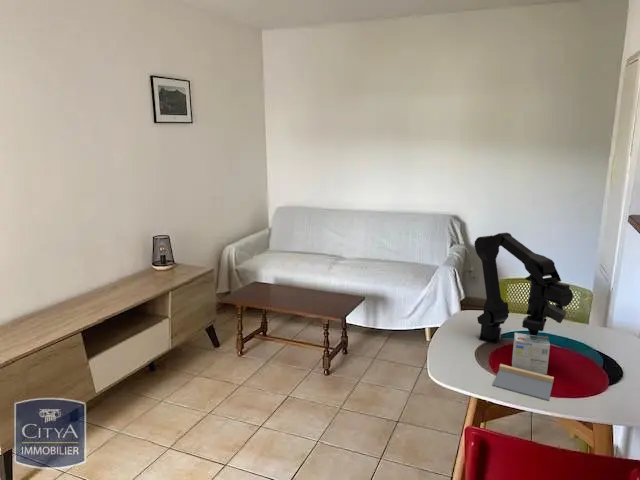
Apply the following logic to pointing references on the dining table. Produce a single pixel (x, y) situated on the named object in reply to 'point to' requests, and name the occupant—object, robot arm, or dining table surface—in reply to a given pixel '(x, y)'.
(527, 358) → the light bulb box
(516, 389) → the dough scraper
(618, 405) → the dining table surface
